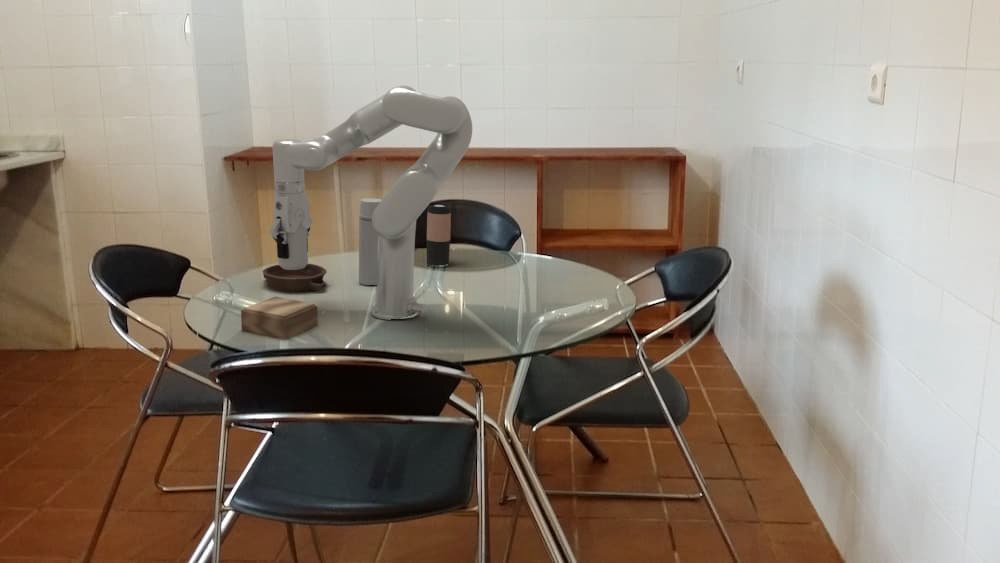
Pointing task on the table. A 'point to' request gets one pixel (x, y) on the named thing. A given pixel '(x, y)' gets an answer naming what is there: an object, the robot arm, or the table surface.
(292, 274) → the dish
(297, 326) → the plinth
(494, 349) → the table surface
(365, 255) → the water bottle
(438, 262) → the travel mug
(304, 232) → the can
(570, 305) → the table surface
